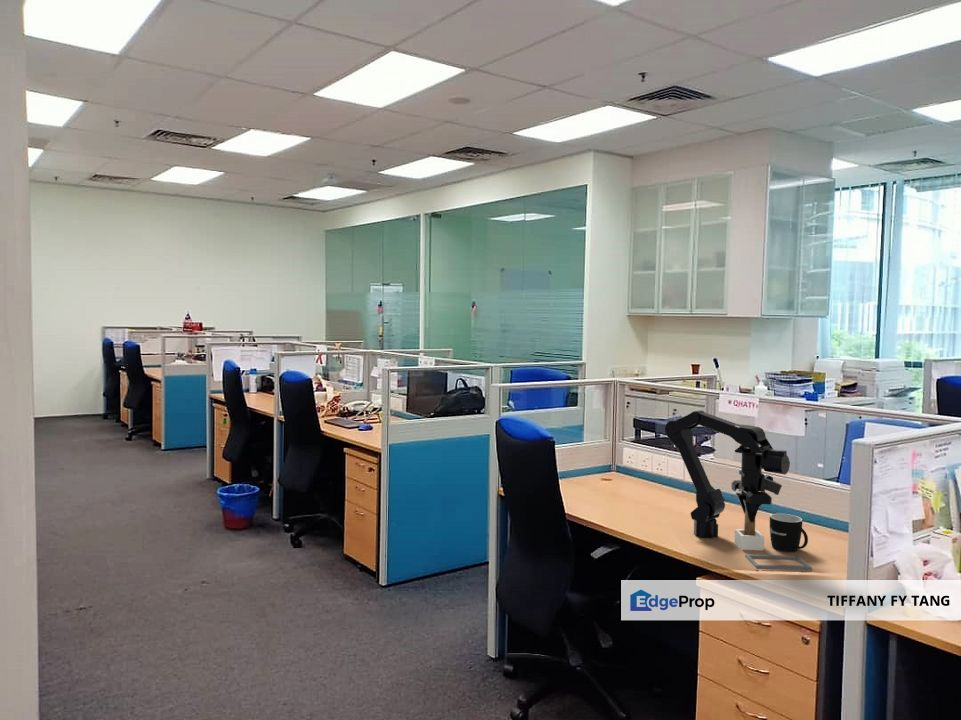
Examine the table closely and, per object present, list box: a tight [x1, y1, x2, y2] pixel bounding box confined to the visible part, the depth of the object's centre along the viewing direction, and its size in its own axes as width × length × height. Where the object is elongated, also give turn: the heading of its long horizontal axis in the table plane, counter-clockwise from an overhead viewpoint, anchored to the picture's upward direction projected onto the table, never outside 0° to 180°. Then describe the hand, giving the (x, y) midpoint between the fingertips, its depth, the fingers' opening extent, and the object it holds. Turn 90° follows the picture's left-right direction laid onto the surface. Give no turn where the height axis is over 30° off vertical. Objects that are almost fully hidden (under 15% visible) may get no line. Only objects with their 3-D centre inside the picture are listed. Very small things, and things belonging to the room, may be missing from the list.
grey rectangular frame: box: [745, 553, 813, 573], centre depth 195 cm, size 15×9×2 cm, turn 86°
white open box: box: [733, 528, 765, 551], centre depth 209 cm, size 7×7×5 cm
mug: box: [769, 513, 809, 553], centre depth 206 cm, size 12×9×10 cm
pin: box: [743, 508, 756, 535], centre depth 209 cm, size 3×3×9 cm
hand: (749, 520), depth 209 cm, fingers closed on pin, 3 cm apart
